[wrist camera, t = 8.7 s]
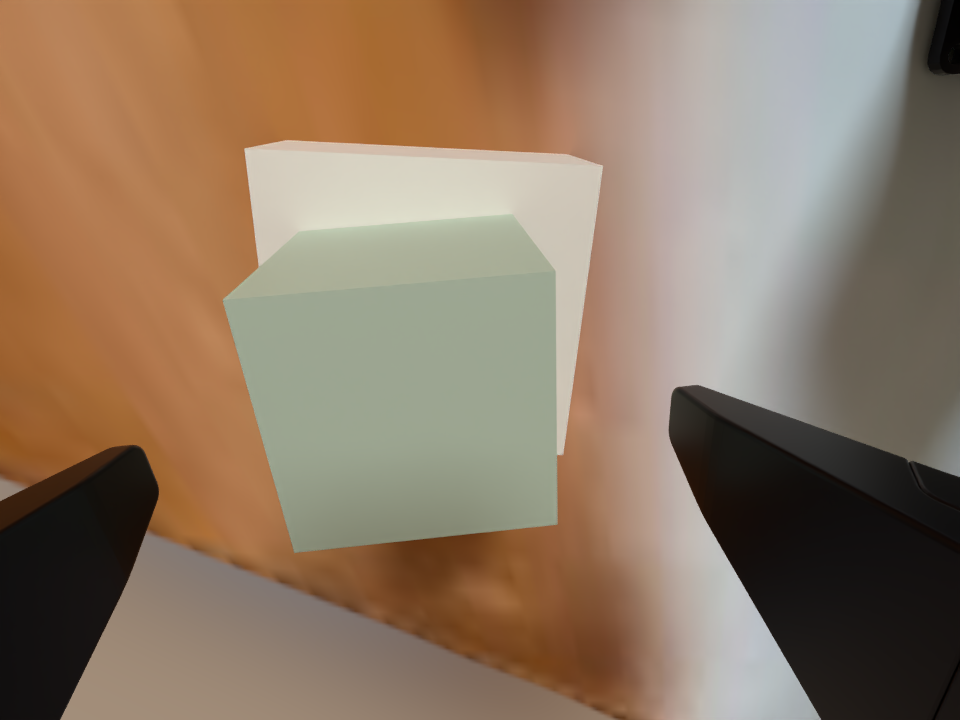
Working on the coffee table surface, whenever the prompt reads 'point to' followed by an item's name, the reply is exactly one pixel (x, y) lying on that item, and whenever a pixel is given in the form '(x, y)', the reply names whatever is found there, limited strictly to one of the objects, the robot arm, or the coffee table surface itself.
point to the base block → (437, 208)
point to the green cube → (404, 380)
